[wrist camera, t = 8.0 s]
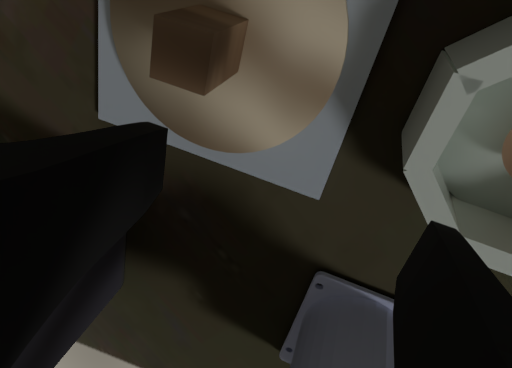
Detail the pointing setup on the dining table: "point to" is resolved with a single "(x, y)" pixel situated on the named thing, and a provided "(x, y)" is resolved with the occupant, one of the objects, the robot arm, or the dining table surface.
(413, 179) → the bowl
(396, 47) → the dining table surface
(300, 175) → the mat
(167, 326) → the dining table surface
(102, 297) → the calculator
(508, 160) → the ball
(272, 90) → the lid
